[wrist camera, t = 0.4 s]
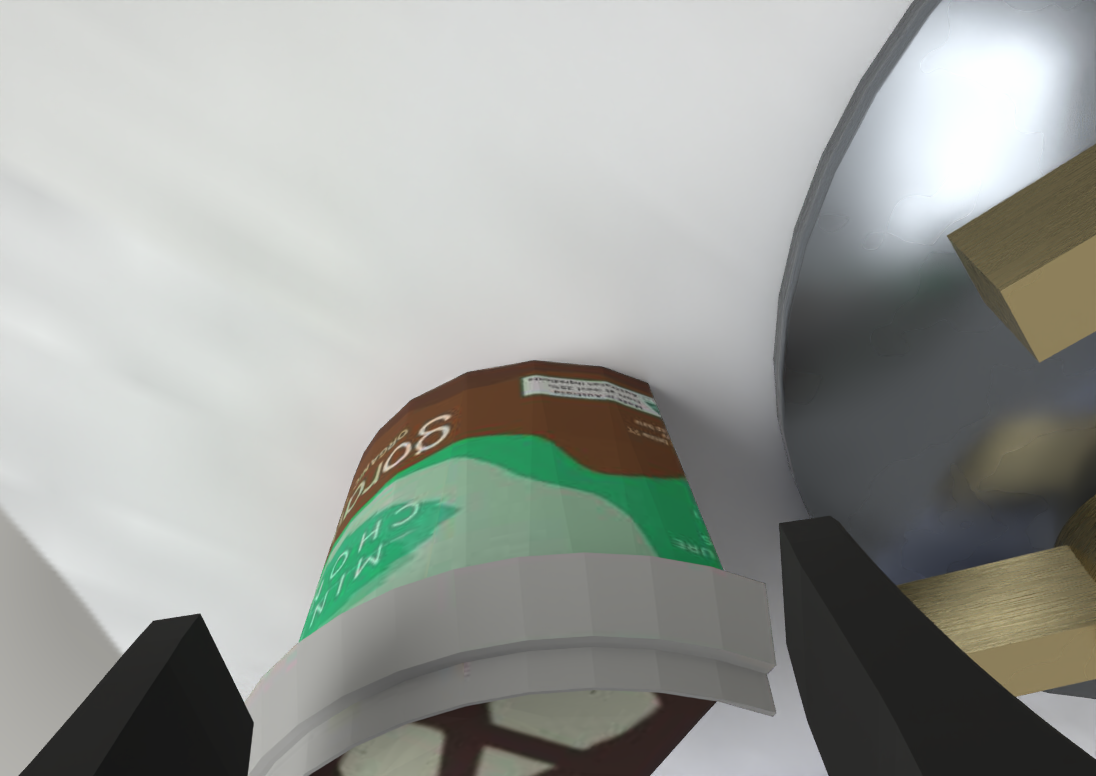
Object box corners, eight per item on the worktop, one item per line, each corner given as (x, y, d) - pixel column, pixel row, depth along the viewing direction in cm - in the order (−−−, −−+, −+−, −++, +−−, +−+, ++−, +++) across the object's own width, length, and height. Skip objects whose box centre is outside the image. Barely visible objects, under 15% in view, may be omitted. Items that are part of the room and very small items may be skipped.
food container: (428, 209, 20) (373, 531, 12) (683, 331, 22) (800, 689, 13) (228, 609, 26) (91, 1025, 17) (444, 681, 27) (418, 1091, 19)
